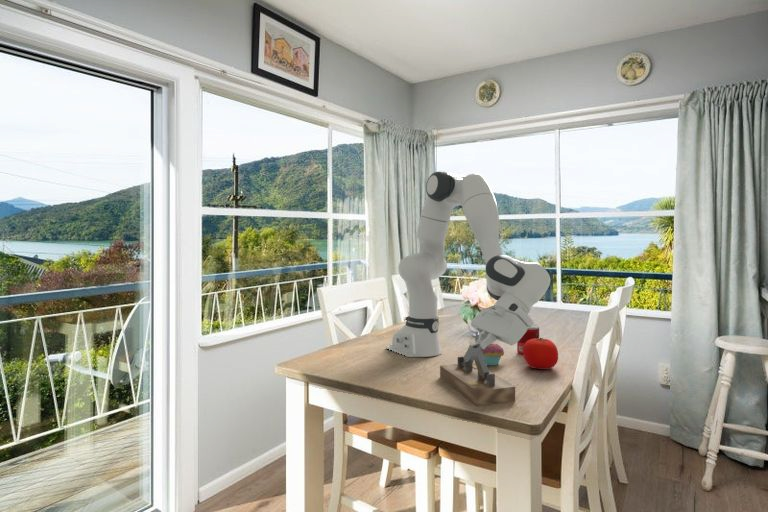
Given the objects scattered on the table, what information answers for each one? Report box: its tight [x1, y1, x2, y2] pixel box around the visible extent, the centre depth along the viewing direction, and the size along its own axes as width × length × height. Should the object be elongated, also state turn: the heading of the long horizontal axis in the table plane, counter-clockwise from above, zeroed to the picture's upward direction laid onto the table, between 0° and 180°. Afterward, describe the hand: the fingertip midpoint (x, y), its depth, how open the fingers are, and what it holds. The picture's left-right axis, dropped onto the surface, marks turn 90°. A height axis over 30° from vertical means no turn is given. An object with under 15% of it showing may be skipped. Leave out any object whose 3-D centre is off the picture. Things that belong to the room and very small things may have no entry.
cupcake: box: [481, 343, 505, 366], centre depth 157 cm, size 9×8×12 cm
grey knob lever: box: [461, 332, 480, 363], centre depth 139 cm, size 2×4×12 cm
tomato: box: [522, 337, 559, 370], centre depth 152 cm, size 11×12×10 cm
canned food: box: [516, 324, 540, 357], centre depth 170 cm, size 8×8×11 cm
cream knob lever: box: [468, 338, 490, 380], centre depth 125 cm, size 2×4×12 cm, turn 16°
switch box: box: [439, 355, 516, 407], centre depth 132 cm, size 12×24×7 cm, turn 17°
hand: (479, 346), depth 125 cm, fingers closed, pressing on cream knob lever
